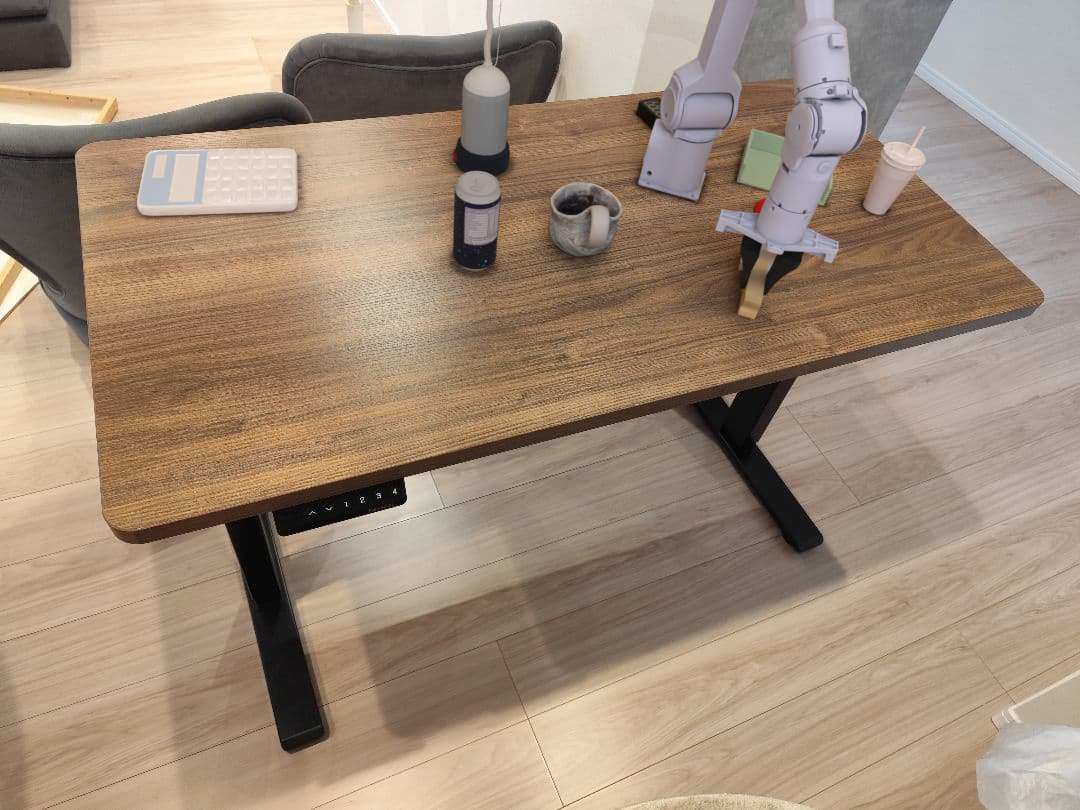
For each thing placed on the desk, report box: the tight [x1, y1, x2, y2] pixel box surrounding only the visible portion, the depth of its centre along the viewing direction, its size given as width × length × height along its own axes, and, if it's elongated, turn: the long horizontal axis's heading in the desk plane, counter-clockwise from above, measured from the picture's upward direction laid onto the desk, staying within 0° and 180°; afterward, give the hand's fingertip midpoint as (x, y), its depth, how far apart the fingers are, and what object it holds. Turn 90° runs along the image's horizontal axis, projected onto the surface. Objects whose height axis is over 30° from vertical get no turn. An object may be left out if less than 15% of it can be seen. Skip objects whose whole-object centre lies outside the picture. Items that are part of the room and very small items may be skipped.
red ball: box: [752, 197, 766, 213], centre depth 109 cm, size 4×4×4 cm
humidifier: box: [452, 0, 511, 177], centre depth 102 cm, size 8×8×25 cm
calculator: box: [136, 147, 299, 217], centre depth 100 cm, size 13×20×2 cm, turn 102°
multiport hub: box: [635, 96, 662, 130], centre depth 123 cm, size 4×11×2 cm, turn 28°
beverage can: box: [452, 171, 502, 272], centre depth 93 cm, size 6×6×12 cm
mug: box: [547, 181, 624, 257], centre depth 97 cm, size 10×12×10 cm
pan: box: [736, 128, 834, 206], centre depth 121 cm, size 20×14×3 cm
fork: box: [737, 244, 777, 320], centre depth 98 cm, size 17×4×3 cm, turn 163°
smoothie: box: [862, 125, 927, 216], centre depth 111 cm, size 6×6×14 cm
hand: (753, 286), depth 95 cm, fingers closed on fork, 2 cm apart
